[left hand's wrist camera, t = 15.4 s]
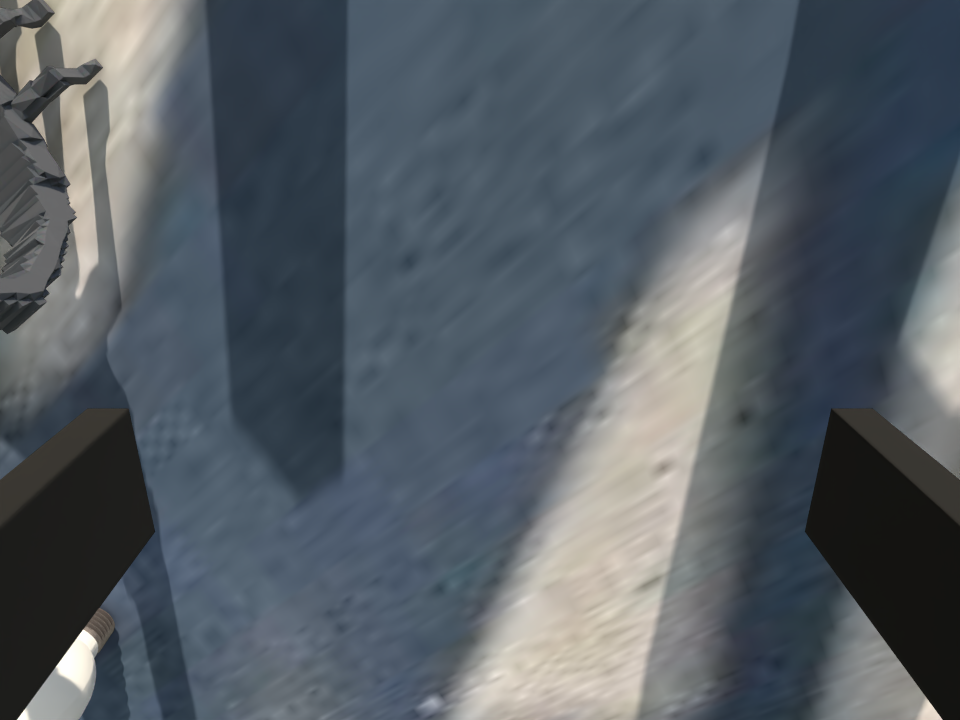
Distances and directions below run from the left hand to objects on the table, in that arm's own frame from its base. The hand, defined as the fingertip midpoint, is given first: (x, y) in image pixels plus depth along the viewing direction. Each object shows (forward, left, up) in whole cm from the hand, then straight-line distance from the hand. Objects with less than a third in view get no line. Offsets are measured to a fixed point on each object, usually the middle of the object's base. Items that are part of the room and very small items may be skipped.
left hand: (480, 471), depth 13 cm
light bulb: (+45, +1, -31) cm, 55 cm away
